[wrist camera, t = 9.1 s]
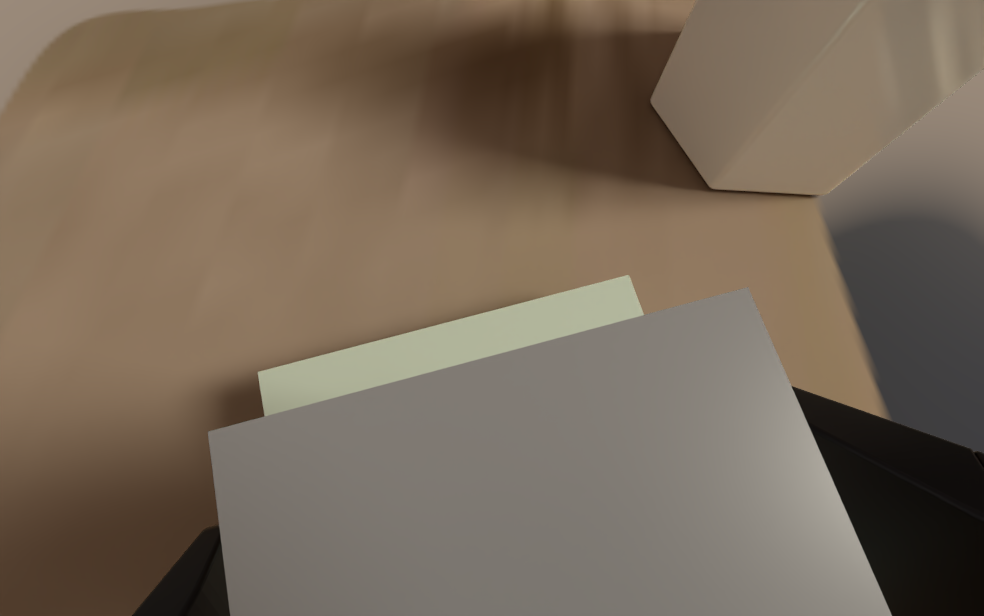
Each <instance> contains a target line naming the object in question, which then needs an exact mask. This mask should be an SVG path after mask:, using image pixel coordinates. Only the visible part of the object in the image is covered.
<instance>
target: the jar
mask: <svg viewBox="0 0 984 616" xmlns="http://www.w3.org/2000/svg"><path fill="white" fill-rule="evenodd" d="M983 69H984V0H696V1H695V3H694V5H693V8H692V10H691V12H690V14H689V16H688V18H687V20H686V23H685V25H684V27H683V29H682V31H681V33H680V36H679V38H678V40H677V42H676V44H675V46H674V49H673V51H672V53H671V55H670V57H669V59H668V62H667V64H666V66H665V68H664V70H663V72H662V75H661V77H660V79H659V81H658V83H657V85H656V88H655V90H654V92H653V94H652V96H651V100H650V102H651V105H652V106H653V108H654V109H655V110H656V112H657V113H658V115H659V116H660V117H661V119H662V120H663V122H664V123H665V124H666V126H667V127H668V129H669V130H670V132H671V133H672V134H673V136H674V137H675V139H676V140H677V142H678V143H679V144H680V146H681V147H682V149H683V150H684V152H685V153H686V154H687V156H688V157H689V159H690V160H691V162H692V163H693V164H694V166H695V167H696V169H697V170H698V172H699V173H700V175H701V176H702V177H703V179H704V180H705V182H706V183H707V185H708V186H709V187H710V188H712V189H717V190H736V191H754V192H771V193H789V194H806V195H826V194H828V193H829V192H830V191H832V190H833V189H834V188H835V187H837V186H838V185H839V184H840V183H842V182H843V181H844V180H845V179H847V178H848V177H849V176H850V175H852V174H853V173H854V172H855V171H857V170H858V169H859V168H861V167H862V166H863V165H864V164H865V163H867V162H868V161H869V160H870V159H872V158H873V157H874V156H875V155H877V154H878V153H879V152H880V151H882V150H883V149H884V148H886V147H887V146H888V145H889V144H890V143H892V142H893V141H894V140H896V139H897V138H898V137H899V136H901V135H902V134H903V133H904V132H906V131H907V130H908V129H909V128H910V127H912V126H913V125H914V124H916V123H917V122H918V121H919V120H920V119H922V118H923V117H924V116H926V115H927V114H928V113H929V112H931V111H932V110H933V109H934V108H936V107H937V106H938V105H939V104H941V103H942V102H943V101H944V100H946V99H947V98H948V97H949V96H951V95H952V94H953V93H954V92H956V91H957V90H958V89H959V88H961V87H962V86H963V85H964V84H966V83H967V82H968V81H969V80H971V79H972V78H973V77H974V76H976V75H977V74H978V73H979V72H981V71H982V70H983Z"/></svg>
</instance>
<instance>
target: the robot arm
mask: <svg viewBox="0 0 984 616" xmlns="http://www.w3.org/2000/svg"><path fill="white" fill-rule="evenodd" d="M792 389H793V391H794V393H795V396H796V398H797V400H798V402H799V405H800V407H801V409H802V412H803V414H804V416H805V418H806V421H807V423H808V425H809V428H810V430H811V432H812V434H813V437H814V439H815V441H816V444H817V446H818V448H819V450H820V453H821V455H822V457H823V459H824V462H825V464H826V466H827V469H828V471H829V473H830V475H831V478H832V480H833V482H834V485H835V487H836V489H837V491H838V494H839V496H840V498H841V501H842V503H843V505H844V507H845V510H846V512H847V514H848V517H849V519H850V521H851V523H852V526H853V528H854V530H855V532H856V535H857V537H858V539H859V542H860V544H861V546H862V548H863V551H864V553H865V555H866V558H867V560H868V562H869V564H870V567H871V569H872V571H873V574H874V576H875V578H876V580H877V583H878V585H879V587H880V590H881V592H882V594H883V596H884V599H885V601H886V603H887V605H888V608H889V610H890V612H891V615H892V616H984V453H982V452H979V451H976V452H973V450H972V449H970V448H967V447H964V446H961V445H958V444H955V443H953V442H950V441H947V440H944V439H941V438H939V437H936V436H933V435H930V434H927V433H924V432H921V431H919V430H916V429H913V428H910V427H907V426H904V425H901V424H898V423H896V422H893V421H890V420H887V419H884V418H881V417H879V416H876V415H873V414H870V413H867V412H864V411H861V410H858V409H856V408H853V407H850V406H847V405H844V404H841V403H838V402H836V401H833V400H830V399H827V398H824V397H821V396H818V395H816V394H813V393H810V392H807V391H804V390H801V389H798V388H795V387H793V386H792ZM132 616H230V609H229V601H228V593H227V585H226V577H225V569H224V560H223V552H222V544H221V536H220V528H219V524H218V525H215V526H211V527H208V528H206V529H205V530H203V531H202V532H201V533H200V535H199V536H198V537H197V538H196V539H195V541H194V542H193V543H192V544H191V545H190V547H189V548H188V549H187V550H186V551H185V553H184V554H183V555H182V556H181V557H180V559H179V560H178V561H177V562H176V563H175V565H174V566H173V567H172V568H171V569H170V571H169V572H168V573H167V574H166V575H165V577H164V578H163V579H162V580H161V581H160V583H159V584H158V585H157V586H156V587H155V589H154V590H153V591H152V592H151V593H150V595H149V596H148V597H147V598H146V599H145V601H144V602H143V603H142V604H141V605H140V607H139V608H138V609H137V610H136V611H135V613H134V614H133V615H132Z"/></svg>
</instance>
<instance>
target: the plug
mask: <svg viewBox="0 0 984 616" xmlns="http://www.w3.org/2000/svg"><path fill="white" fill-rule="evenodd" d="M208 438H209V446H210V454H211V462H212V470H213V479H214V487H215V495H216V503H217V511H218V519H219V528H220V536H221V544H222V552H223V560H224V569H225V577H226V585H227V593H228V601H229V609H230V616H892V615H891V612H890V610H889V608H888V605H887V603H886V601H885V599H884V596H883V594H882V592H881V590H880V587H879V585H878V583H877V580H876V578H875V576H874V574H873V571H872V569H871V567H870V564H869V562H868V560H867V558H866V555H865V553H864V551H863V548H862V546H861V544H860V542H859V539H858V537H857V535H856V532H855V530H854V528H853V526H852V523H851V521H850V519H849V517H848V514H847V512H846V510H845V507H844V505H843V503H842V501H841V498H840V496H839V494H838V491H837V489H836V487H835V485H834V482H833V480H832V478H831V475H830V473H829V471H828V469H827V466H826V464H825V462H824V459H823V457H822V455H821V453H820V450H819V448H818V446H817V444H816V441H815V439H814V437H813V434H812V432H811V430H810V428H809V425H808V423H807V421H806V418H805V416H804V414H803V412H802V409H801V407H800V405H799V402H798V400H797V398H796V396H795V393H794V391H793V389H792V386H791V384H790V382H789V380H788V377H787V375H786V373H785V371H784V368H783V366H782V364H781V361H780V359H779V357H778V355H777V352H776V350H775V348H774V345H773V343H772V341H771V339H770V336H769V334H768V332H767V329H766V327H765V325H764V323H763V320H762V318H761V316H760V313H759V311H758V309H757V307H756V304H755V302H754V300H753V298H752V295H751V293H750V291H749V288H748V287H747V288H743V289H740V290H736V291H732V292H728V293H725V294H721V295H717V296H713V297H710V298H706V299H702V300H698V301H695V302H691V303H687V304H684V305H680V306H676V307H672V308H669V309H665V310H661V311H657V312H654V313H650V314H646V315H642V316H639V317H635V318H631V319H627V320H624V321H620V322H616V323H612V324H609V325H605V326H601V327H597V328H594V329H590V330H586V331H582V332H579V333H575V334H571V335H567V336H564V337H560V338H556V339H553V340H549V341H545V342H541V343H538V344H534V345H530V346H526V347H523V348H519V349H515V350H511V351H508V352H504V353H500V354H496V355H493V356H489V357H485V358H481V359H478V360H474V361H470V362H466V363H463V364H459V365H455V366H451V367H448V368H444V369H440V370H436V371H433V372H429V373H425V374H421V375H418V376H414V377H410V378H407V379H403V380H399V381H395V382H392V383H388V384H384V385H380V386H377V387H373V388H369V389H365V390H362V391H358V392H354V393H350V394H347V395H343V396H339V397H335V398H332V399H328V400H324V401H320V402H317V403H313V404H309V405H305V406H302V407H298V408H294V409H290V410H287V411H283V412H279V413H276V414H272V415H268V416H264V417H261V418H257V419H253V420H249V421H246V422H242V423H238V424H234V425H231V426H227V427H223V428H219V429H216V430H212V431H208Z"/></svg>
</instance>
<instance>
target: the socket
mask: <svg viewBox="0 0 984 616" xmlns="http://www.w3.org/2000/svg"><path fill="white" fill-rule="evenodd" d="M642 315H644V314H643V311H642V309H641V306H640V303H639V301H638V298H637V295H636V293H635V290H634V287H633V285H632V282H631V279H630V277H629V275H627V276H623V277H619V278H615V279H611V280H607V281H604V282H600V283H596V284H592V285H588V286H585V287H581V288H577V289H573V290H569V291H565V292H562V293H558V294H554V295H550V296H546V297H542V298H539V299H535V300H531V301H527V302H523V303H520V304H516V305H512V306H508V307H504V308H500V309H497V310H493V311H489V312H485V313H481V314H478V315H474V316H470V317H466V318H462V319H458V320H455V321H451V322H447V323H443V324H439V325H435V326H432V327H428V328H424V329H420V330H416V331H413V332H409V333H405V334H401V335H397V336H393V337H390V338H386V339H382V340H378V341H374V342H370V343H367V344H363V345H359V346H355V347H351V348H348V349H344V350H340V351H336V352H332V353H328V354H325V355H321V356H317V357H313V358H309V359H306V360H302V361H298V362H294V363H290V364H286V365H283V366H279V367H275V368H271V369H267V370H263V371H260V372H258V378H259V384H260V390H261V397H262V403H263V409H264V416H268V415H272V414H276V413H279V412H283V411H287V410H290V409H294V408H298V407H302V406H305V405H309V404H313V403H317V402H320V401H324V400H328V399H332V398H335V397H339V396H343V395H347V394H350V393H354V392H358V391H362V390H365V389H369V388H373V387H377V386H380V385H384V384H388V383H392V382H395V381H399V380H403V379H407V378H410V377H414V376H418V375H421V374H425V373H429V372H433V371H436V370H440V369H444V368H448V367H451V366H455V365H459V364H463V363H466V362H470V361H474V360H478V359H481V358H485V357H489V356H493V355H496V354H500V353H504V352H508V351H511V350H515V349H519V348H523V347H526V346H530V345H534V344H538V343H541V342H545V341H549V340H553V339H556V338H560V337H564V336H567V335H571V334H575V333H579V332H582V331H586V330H590V329H594V328H597V327H601V326H605V325H609V324H612V323H616V322H620V321H624V320H627V319H631V318H635V317H639V316H642Z"/></svg>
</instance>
